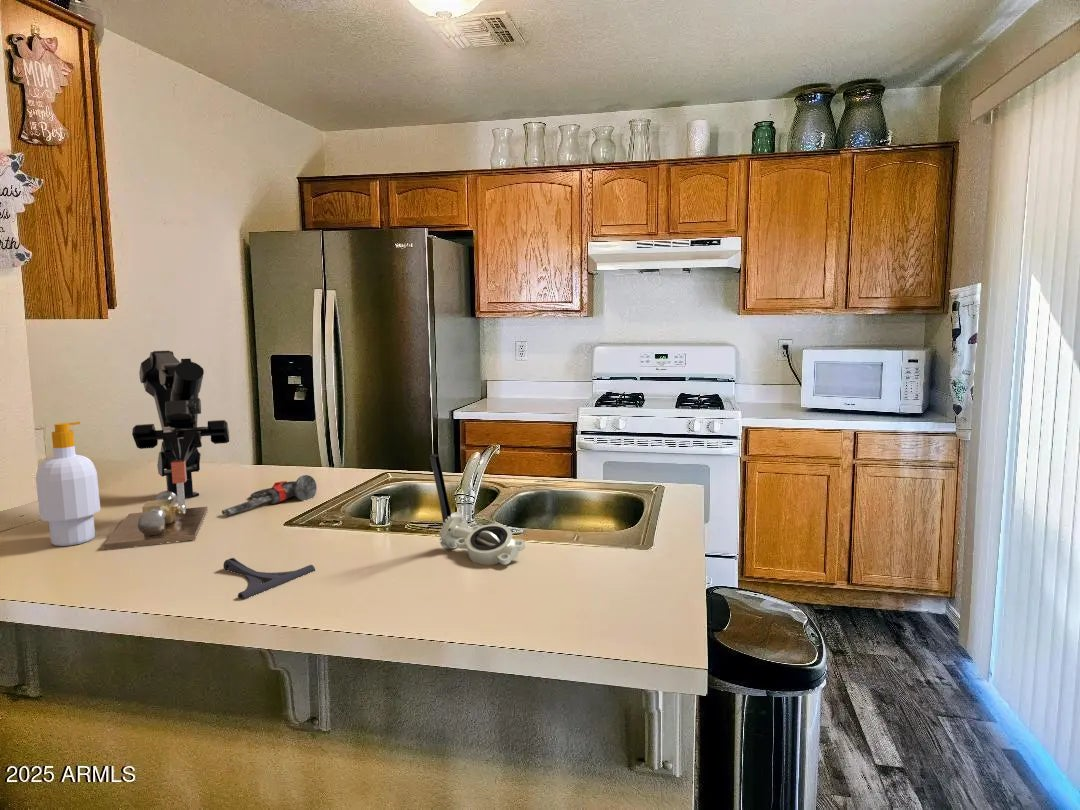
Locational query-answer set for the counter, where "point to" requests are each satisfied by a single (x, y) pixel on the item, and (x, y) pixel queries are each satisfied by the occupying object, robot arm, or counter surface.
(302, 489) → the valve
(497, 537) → the butterfly valve
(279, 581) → the dark grey squeegee
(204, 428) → the robot arm
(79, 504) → the soap bottle
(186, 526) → the valve stand
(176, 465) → the lever
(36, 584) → the counter surface
